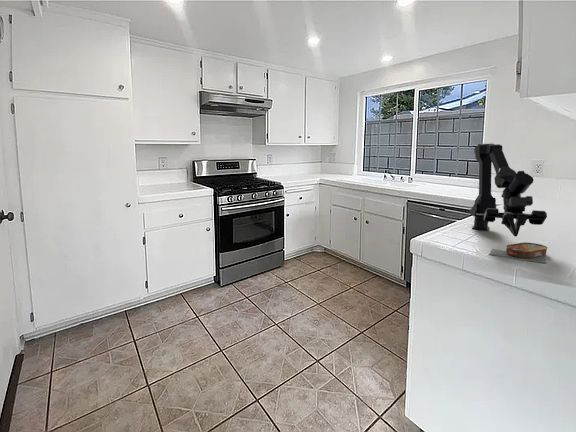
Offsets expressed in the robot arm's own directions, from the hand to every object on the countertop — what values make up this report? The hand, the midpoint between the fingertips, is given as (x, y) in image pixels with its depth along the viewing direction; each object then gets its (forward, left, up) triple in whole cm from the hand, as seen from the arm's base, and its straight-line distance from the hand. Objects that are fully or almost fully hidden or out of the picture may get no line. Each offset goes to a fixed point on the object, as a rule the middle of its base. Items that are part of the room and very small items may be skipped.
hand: (515, 235), depth 117 cm
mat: (+3, +1, -7) cm, 7 cm away
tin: (-3, 0, -5) cm, 6 cm away
